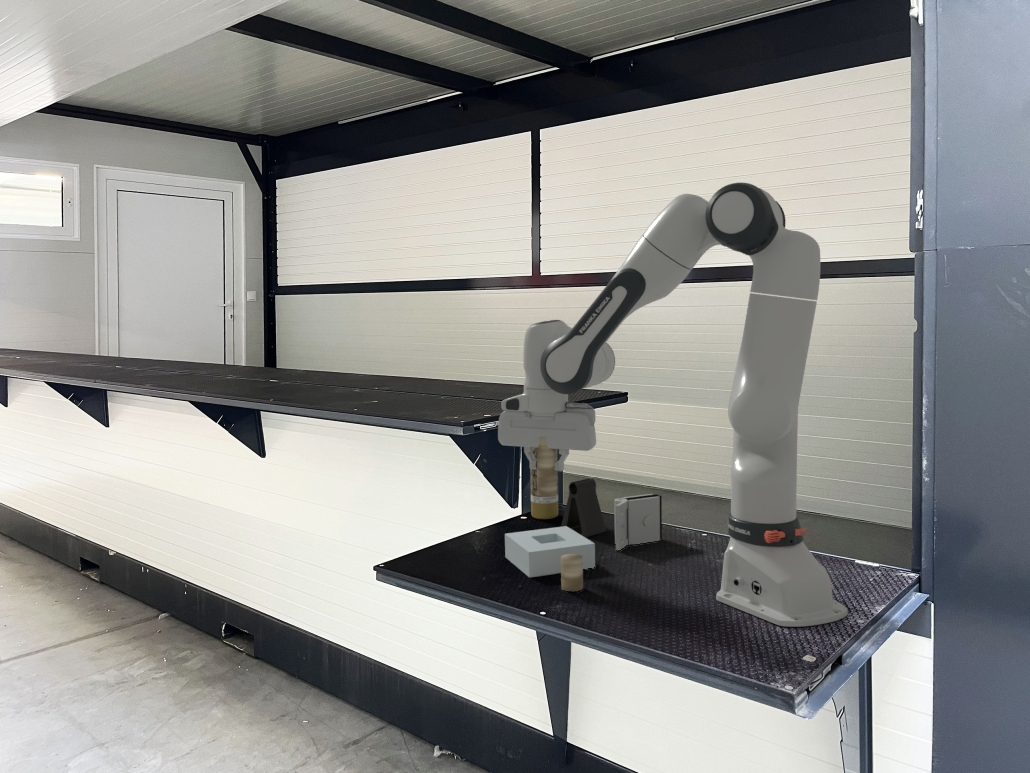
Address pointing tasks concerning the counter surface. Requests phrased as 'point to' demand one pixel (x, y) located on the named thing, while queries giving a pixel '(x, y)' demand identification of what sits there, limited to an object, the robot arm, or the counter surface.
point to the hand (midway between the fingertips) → (546, 469)
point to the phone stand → (583, 509)
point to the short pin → (571, 572)
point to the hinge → (637, 519)
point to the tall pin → (546, 469)
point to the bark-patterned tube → (542, 498)
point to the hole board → (547, 550)
